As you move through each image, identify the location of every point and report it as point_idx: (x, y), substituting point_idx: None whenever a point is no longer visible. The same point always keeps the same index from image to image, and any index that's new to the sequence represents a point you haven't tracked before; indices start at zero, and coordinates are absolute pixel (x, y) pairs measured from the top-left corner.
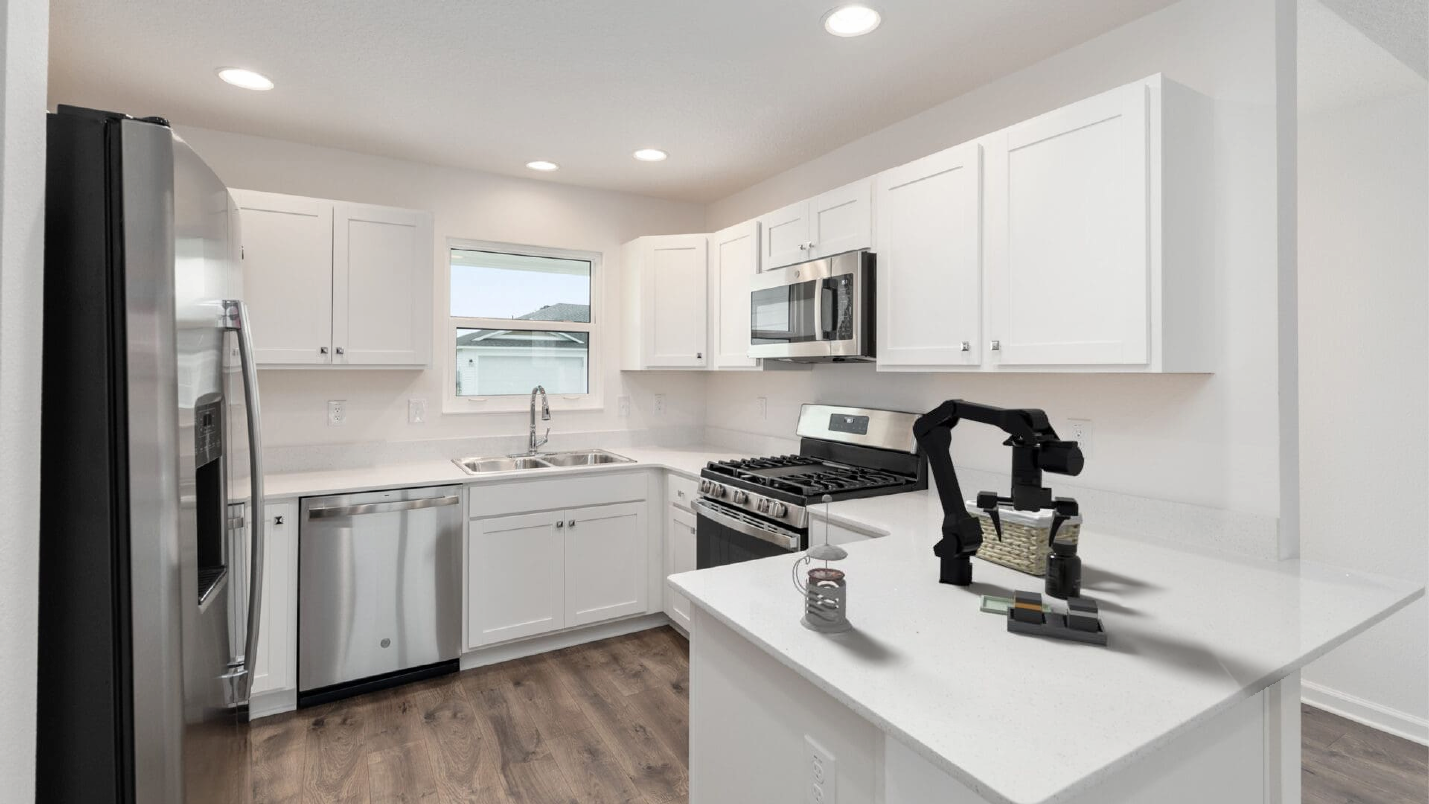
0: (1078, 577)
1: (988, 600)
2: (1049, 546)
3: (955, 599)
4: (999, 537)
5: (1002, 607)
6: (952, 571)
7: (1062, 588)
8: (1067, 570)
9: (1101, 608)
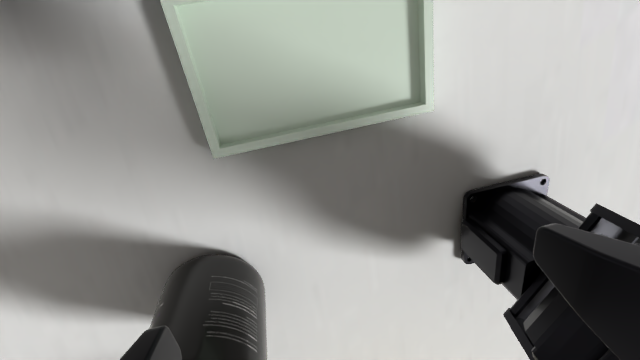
0: None
1: (405, 97)
2: (154, 329)
3: (500, 64)
4: (595, 238)
5: (354, 48)
6: (543, 207)
7: (198, 280)
8: None
9: (87, 265)
